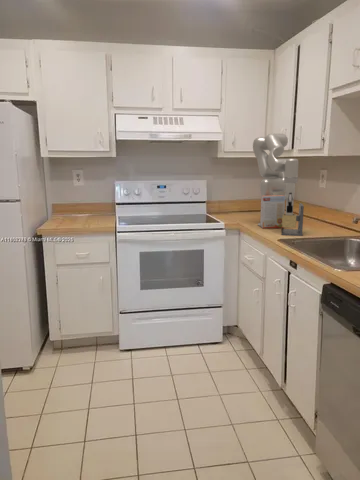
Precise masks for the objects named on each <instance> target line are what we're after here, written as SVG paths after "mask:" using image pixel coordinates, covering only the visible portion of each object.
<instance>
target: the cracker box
mask: <svg viewBox="0 0 360 480" xmlns="http://www.w3.org/2000/svg"><path fill="white" fill-rule="evenodd" d="M283 214H286V200H285V195H282V194H280V195H279V194H277V195H276V194H275V195H274V194H273V195H267V196H261V195H260V218H261V226H260V228H262V229H285V227H282V216H283Z"/></svg>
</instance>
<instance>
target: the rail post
mask: <svg viewBox="0 0 360 480" xmlns="http://www.w3.org/2000/svg"><path fill="white" fill-rule="evenodd" d="M288 200H289V199H286V200H285V214H286V215H293V214H294V209H293V210H292V213H287V203H288ZM291 200H292V199H291ZM292 206H293V207H294V200H293V201H292Z"/></svg>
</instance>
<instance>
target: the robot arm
mask: <svg viewBox="0 0 360 480" xmlns="http://www.w3.org/2000/svg"><path fill="white" fill-rule="evenodd" d="M287 136H288V135H286V134H285V133H268V134H267V135H266V136H259V137H257V138H255V139H254V140H253V142H252V149H253V150H252V151H253V154H254V156H255V159H256V161H257V166H258V171H259V172H258V173H259V175H260V176H261V177H262V179H261V181H260V182H259V189H260V197H261V196H267V195H274V194H273V193H283V192H284V196H285V201H286V199H289V200H288V203H287V213H292V210H293V211H294V205H293V206H292V201H293V200H294V199H295V194H296V184H298V179H299V159H297V158H278V157H281V156H282V155H283V154H284V152H285V147H287V145H288V143H289V138H288V137H287ZM266 151H269V153H267V152H266ZM291 199H292V200H291ZM257 226H259V227H261V217H260V222H258V223H257Z"/></svg>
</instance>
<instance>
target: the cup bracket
mask: <svg viewBox="0 0 360 480" xmlns="http://www.w3.org/2000/svg"><path fill="white" fill-rule="evenodd" d="M304 207H305V206H304V204H303V203H301V202H300V203H298V215H297V214H296V213H293V215H286V213H285V214H283V216H282V227H284V228H281V236H293V237H294V236H297V237H302V236H304V235H303V229H304V228H303V227H304V211H305V210H304ZM297 223H298V225H297ZM296 226H297V227H296ZM291 228H295V229H291ZM296 228H297V229H296Z"/></svg>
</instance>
